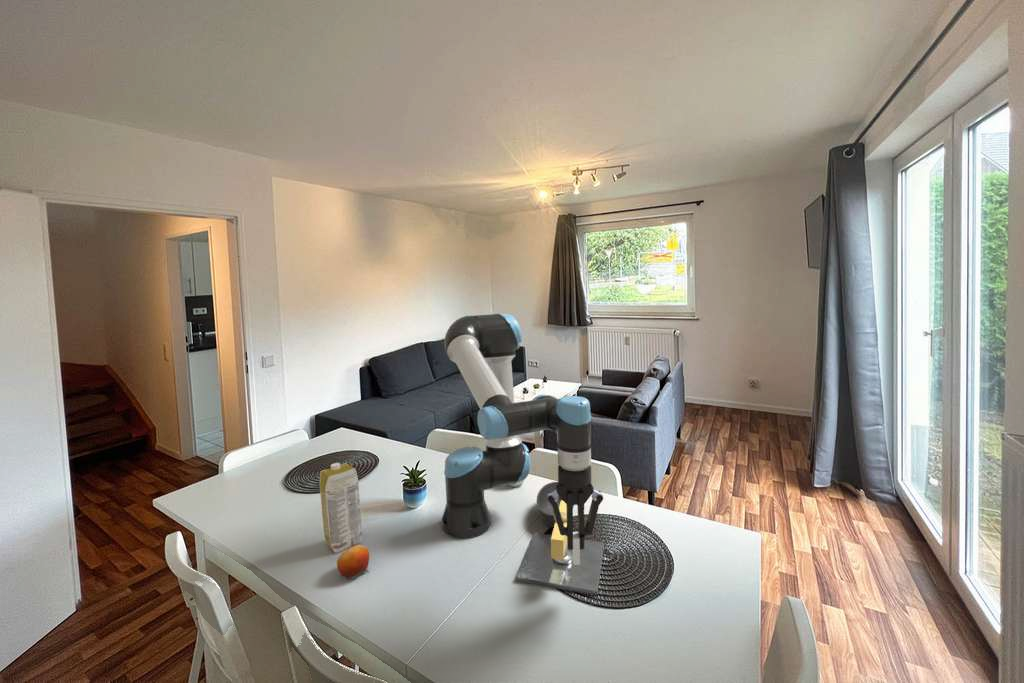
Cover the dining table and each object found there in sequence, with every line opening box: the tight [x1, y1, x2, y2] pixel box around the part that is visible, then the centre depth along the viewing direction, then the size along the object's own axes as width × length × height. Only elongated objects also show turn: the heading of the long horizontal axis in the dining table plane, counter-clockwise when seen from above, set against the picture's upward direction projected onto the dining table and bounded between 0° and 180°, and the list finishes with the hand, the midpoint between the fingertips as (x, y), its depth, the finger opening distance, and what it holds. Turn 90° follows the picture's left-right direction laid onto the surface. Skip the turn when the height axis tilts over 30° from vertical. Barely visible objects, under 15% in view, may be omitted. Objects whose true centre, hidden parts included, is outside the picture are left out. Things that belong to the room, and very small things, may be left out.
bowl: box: [536, 481, 575, 528], centre depth 138 cm, size 12×22×6 cm, turn 169°
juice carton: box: [319, 462, 363, 554], centre depth 124 cm, size 9×8×24 cm
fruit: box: [336, 544, 370, 580], centre depth 112 cm, size 8×8×8 cm
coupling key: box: [551, 501, 567, 560], centre depth 113 cm, size 19×4×6 cm, turn 166°
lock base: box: [515, 532, 605, 597], centre depth 114 cm, size 20×20×7 cm
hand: (576, 561), depth 101 cm, fingers closed
